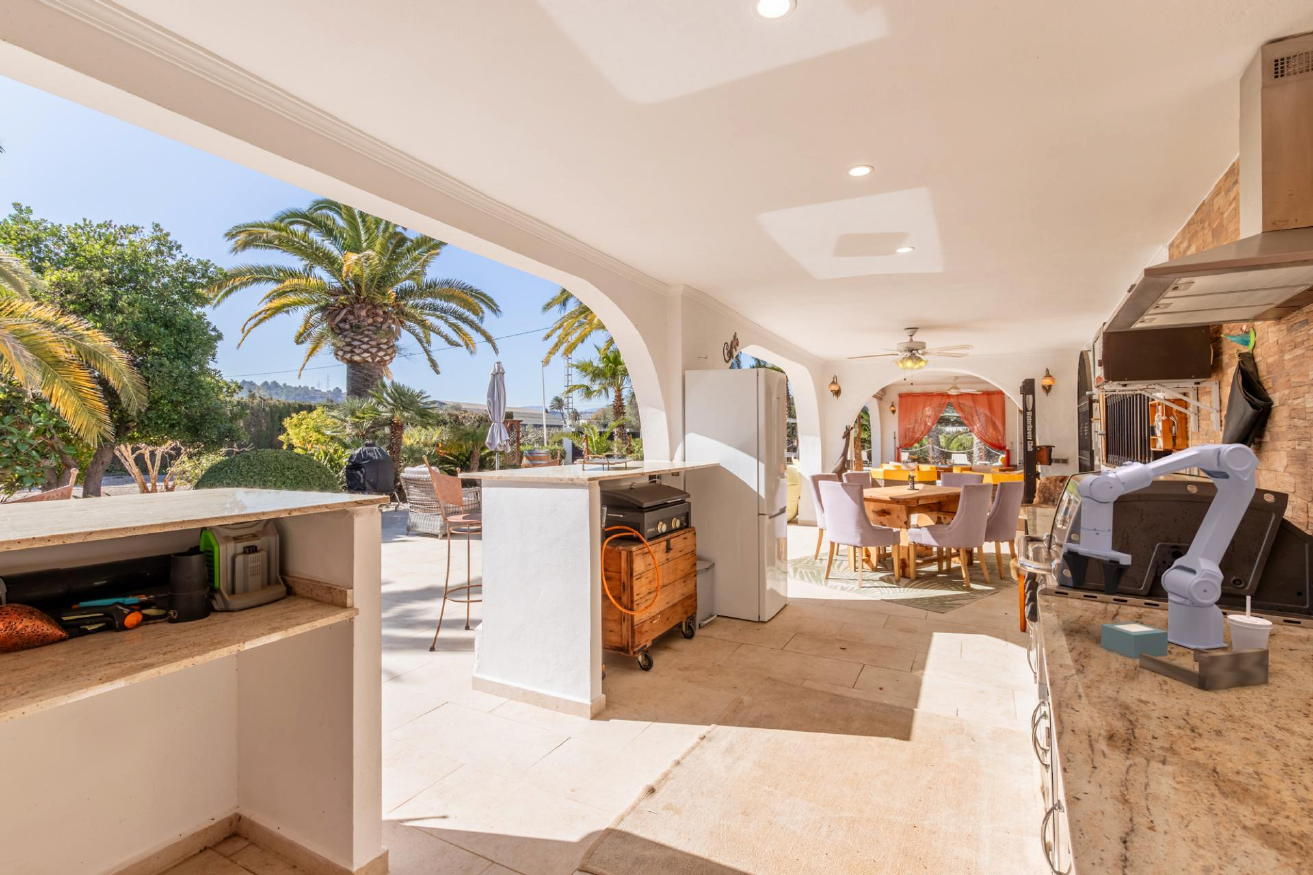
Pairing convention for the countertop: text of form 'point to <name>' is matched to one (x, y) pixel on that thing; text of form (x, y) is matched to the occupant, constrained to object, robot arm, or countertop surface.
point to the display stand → (1215, 668)
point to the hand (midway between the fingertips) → (1094, 590)
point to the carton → (1134, 639)
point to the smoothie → (1248, 630)
